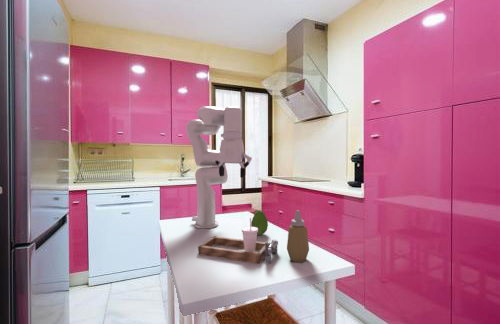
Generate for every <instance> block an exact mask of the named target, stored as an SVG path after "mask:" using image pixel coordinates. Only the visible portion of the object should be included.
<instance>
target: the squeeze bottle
mask: <svg viewBox="0 0 500 324" xmlns="http://www.w3.org/2000/svg"><path fill="white" fill-rule="evenodd" d="M290 223H291V224H290V225H289V226H288V233H287V243H286V250H287V251H286V252H287V253H288V256H289V259H290V260H291V261H292V262H295V263H302V262H305V261H306V260H307V257H308V255H309V251H310V245H309V235H308V227H307V226H305V220H304V219H303V218H302V215H301V210H299V209H296V210H295V215H294V218H292V219H291V222H290Z"/></svg>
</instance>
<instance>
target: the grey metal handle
mask: <svg viewBox="0 0 500 324" xmlns="http://www.w3.org/2000/svg"><path fill="white" fill-rule="evenodd" d="M268 243H270V245H269V246H268ZM278 245H279V241H278V239H272V240H271V242H268V241H265V251H264V254H265V257H264V263H265V264H271V263H272V254H275V255H277V254H278Z"/></svg>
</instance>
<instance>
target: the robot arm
mask: <svg viewBox="0 0 500 324" xmlns="http://www.w3.org/2000/svg"><path fill="white" fill-rule="evenodd" d="M196 115H197V118H198V119H190V120H189V121H188V122H187V123H186V135H187V138H188V141H189V142H190V144H191V147H192V152H193V157H194V163H195V164H196V166H197V167H198V169H196V171H195V174H194V176H195V177H194V179H195V183H196V198H197V200H196V201H197V202H196V203H197V204H196V206H197V209H196V210H197V214H196V215H197V216H192V218H191V221H192V222H195V223H194V227H195V228H197V229H204V230H207V229H213V228H217V227H218V226H219V222H218V221H216V192H215V190H214V189H213V187H212V185H223V184H226V183H227V181H228V170H227V167H226V166H227V165H226V164H234V165H235V164H239V166H240V167H241V168H239V169H240V172H239V173H240V175H239V176H240V177H239V178H240V179H241V178H245V176H246V174H247V173H246V168H247V167H248V166H249V165H250V163H251V161H252V159H253V158H252V156H249V155H248V154H246V153H245V145H244V140H243V139H242V108H240V107H238V106H226V107H224V108H222V107H217V106H207V105H203V106H201V107H200V108H199V109H198V110H197V113H196ZM221 126H222V127H223V132H222V133H221V134H220V137H221V138H223V139H221V142H220V146H219V150H215V149H212V150H211V149H209V147H208V143H207V141H206V140H205V138H203V137H202V135H203V136H214V135H216V134H217V133H218V132H219V130H220V128H221ZM245 160H246V162H245Z"/></svg>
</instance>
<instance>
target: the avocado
mask: <svg viewBox="0 0 500 324" xmlns="http://www.w3.org/2000/svg"><path fill="white" fill-rule="evenodd" d="M268 226H269V222H268V219H267V217H266V214H265V213H264V211H263V210H260V209H259V210H256V211H255V212H254V215H253V217H252V218H251V227H256V228H258V232H257V236H262V235H264V234H265V233H266V232H267V230H268Z"/></svg>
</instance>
